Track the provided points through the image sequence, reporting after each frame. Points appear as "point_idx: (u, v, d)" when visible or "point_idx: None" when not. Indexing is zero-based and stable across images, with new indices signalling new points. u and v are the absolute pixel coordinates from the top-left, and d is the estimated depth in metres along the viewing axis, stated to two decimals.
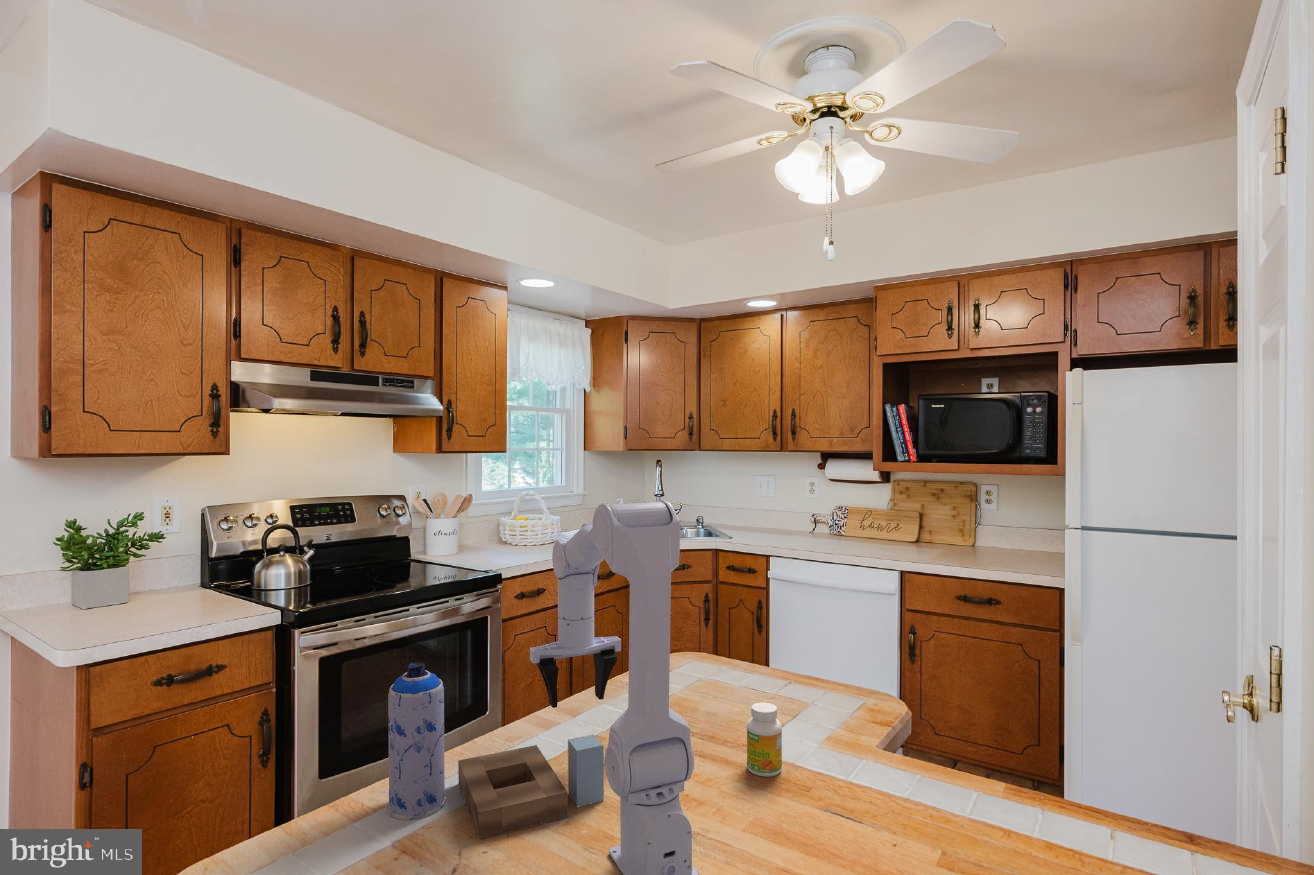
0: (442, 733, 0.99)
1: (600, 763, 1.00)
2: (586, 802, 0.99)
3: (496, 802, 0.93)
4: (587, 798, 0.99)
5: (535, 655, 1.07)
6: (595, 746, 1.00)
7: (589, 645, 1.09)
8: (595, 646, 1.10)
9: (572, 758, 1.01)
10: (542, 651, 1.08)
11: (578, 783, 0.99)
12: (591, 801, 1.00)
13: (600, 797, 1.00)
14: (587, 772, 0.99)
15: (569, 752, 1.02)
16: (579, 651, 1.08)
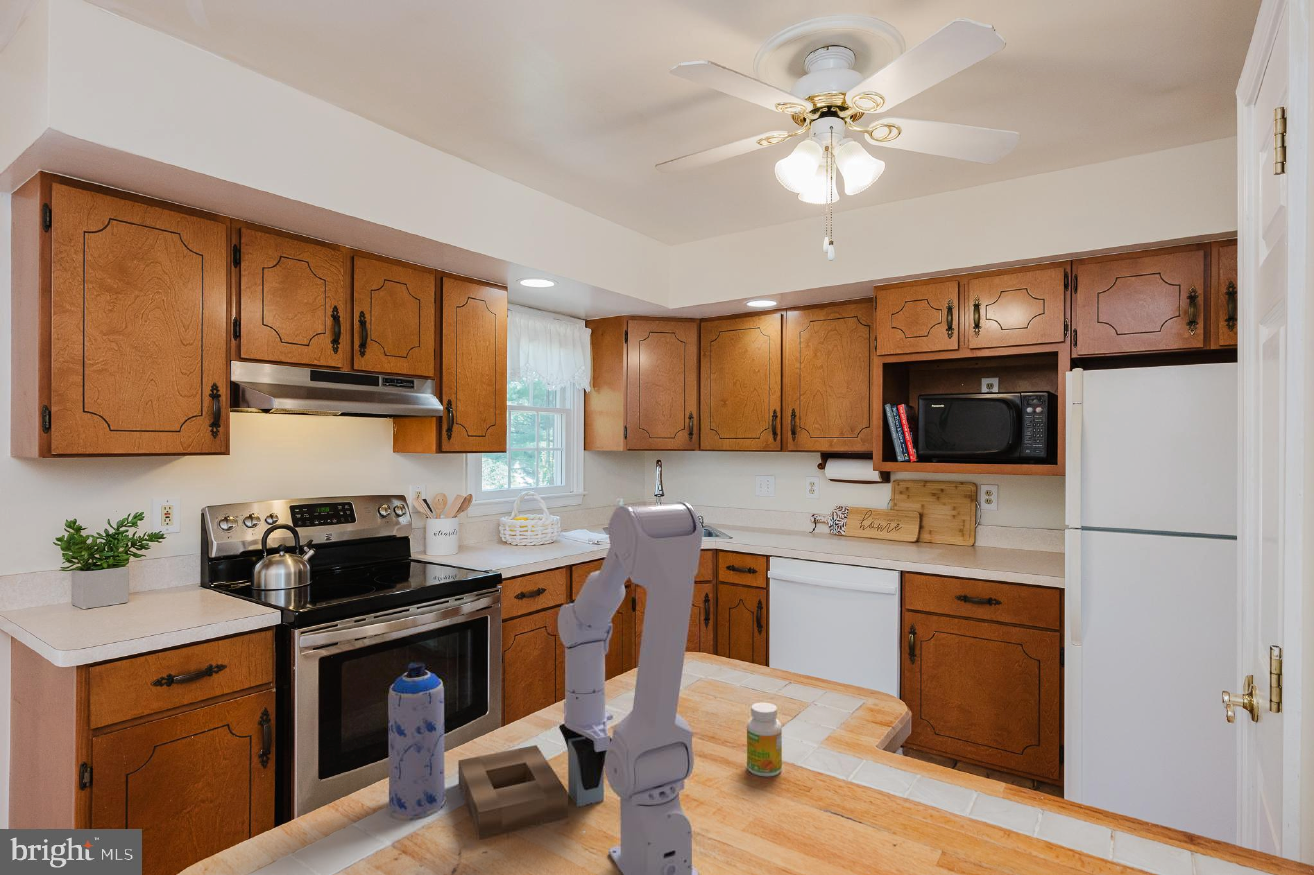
0: (442, 733, 0.99)
1: None
2: (586, 802, 0.99)
3: (496, 802, 0.93)
4: (587, 798, 0.99)
5: (564, 706, 1.07)
6: None
7: (571, 722, 0.99)
8: (574, 727, 0.98)
9: (572, 758, 1.01)
10: None
11: (578, 783, 0.99)
12: (591, 801, 1.00)
13: (600, 797, 1.00)
14: None
15: (569, 752, 1.02)
16: (564, 722, 1.00)
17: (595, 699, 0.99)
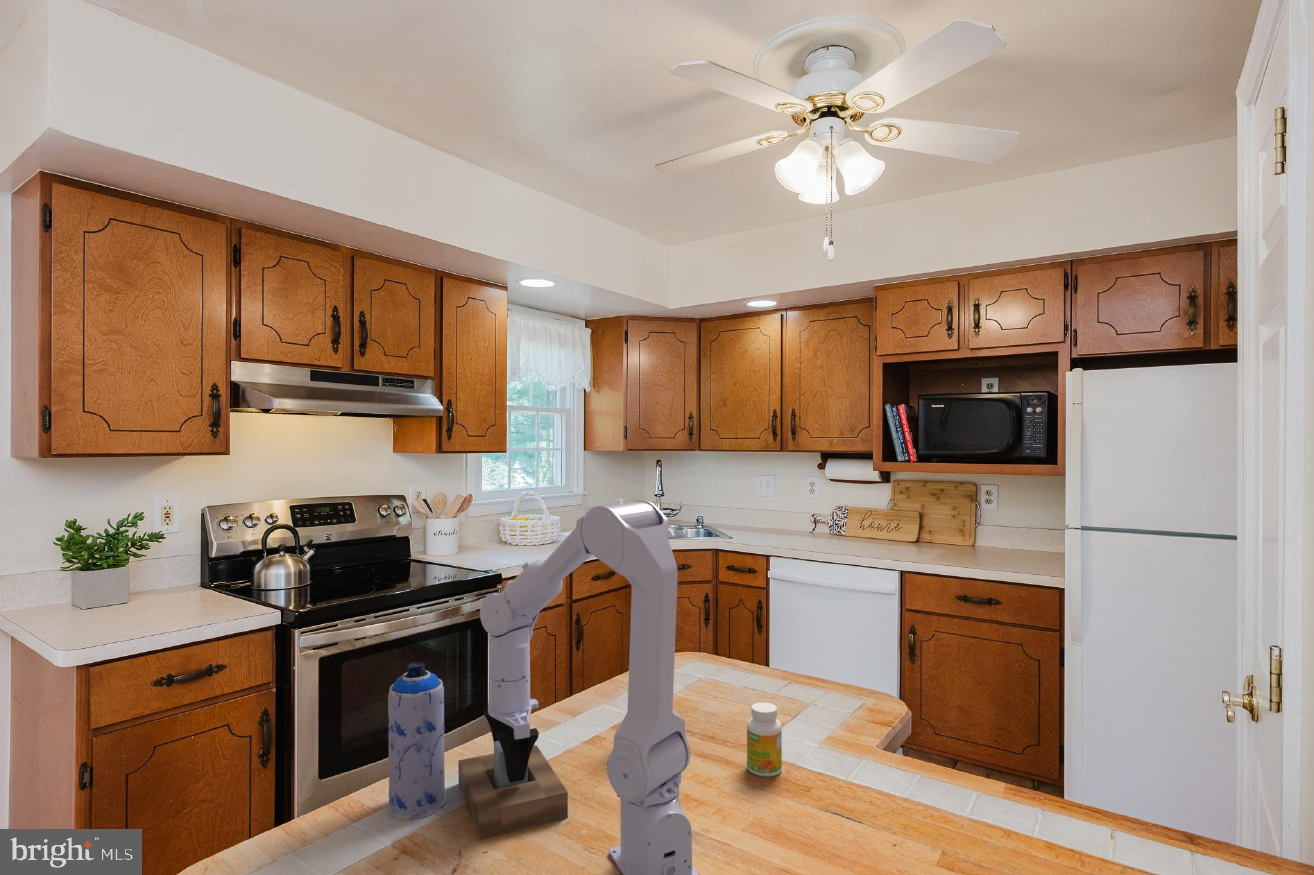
0: (442, 733, 0.99)
1: None
2: None
3: (496, 802, 0.93)
4: None
5: None
6: None
7: (494, 710, 0.98)
8: (497, 715, 0.98)
9: (496, 760, 1.00)
10: None
11: (501, 786, 0.98)
12: None
13: None
14: None
15: (494, 754, 1.01)
16: (488, 710, 1.00)
17: (518, 687, 0.98)
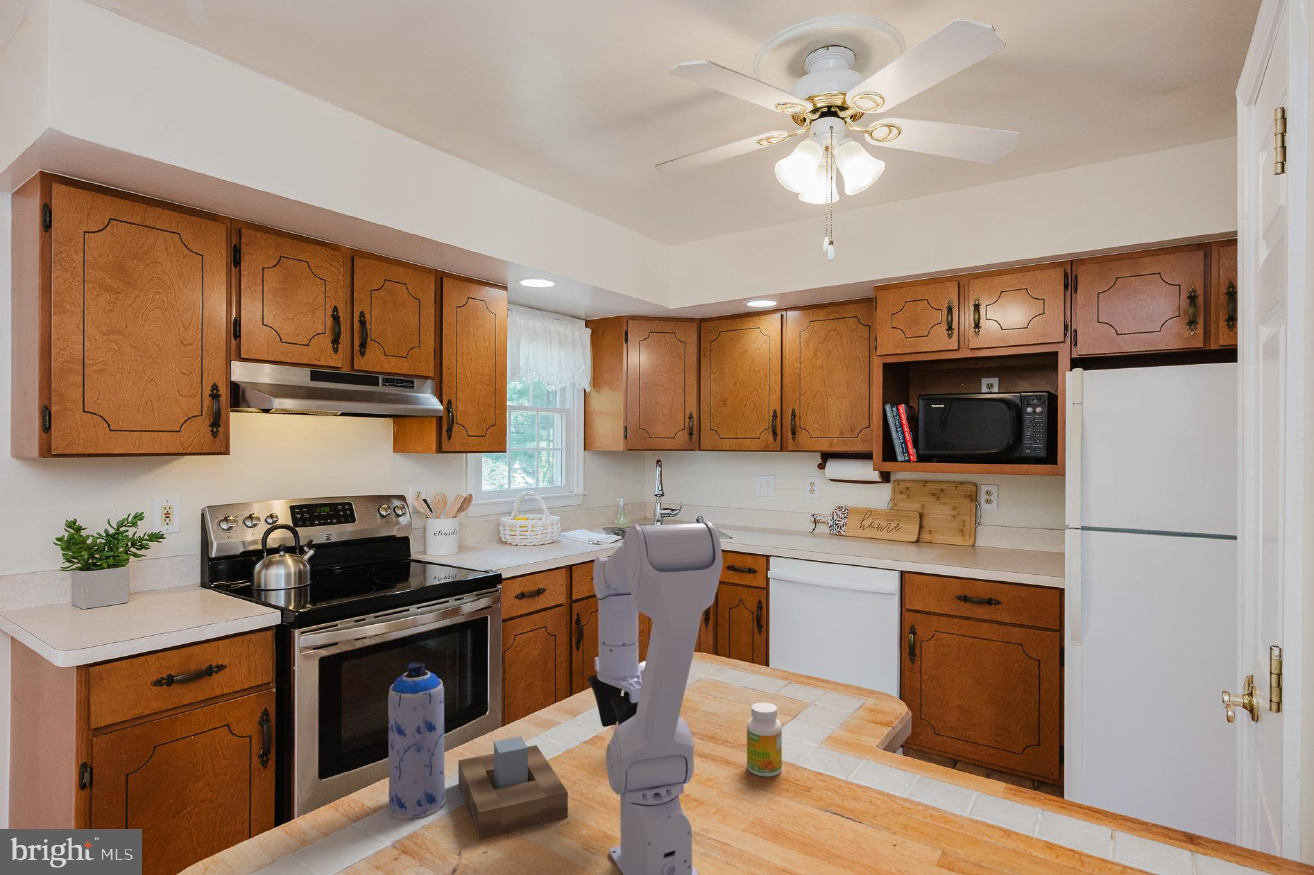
0: (442, 733, 0.99)
1: (524, 766, 1.00)
2: None
3: (496, 802, 0.93)
4: None
5: (595, 662, 1.06)
6: (519, 748, 0.99)
7: (605, 675, 0.98)
8: (609, 679, 0.97)
9: (496, 760, 1.00)
10: (597, 661, 1.05)
11: (501, 786, 0.98)
12: None
13: None
14: (510, 775, 0.99)
15: (494, 754, 1.01)
16: (597, 675, 0.99)
17: (629, 652, 0.98)
